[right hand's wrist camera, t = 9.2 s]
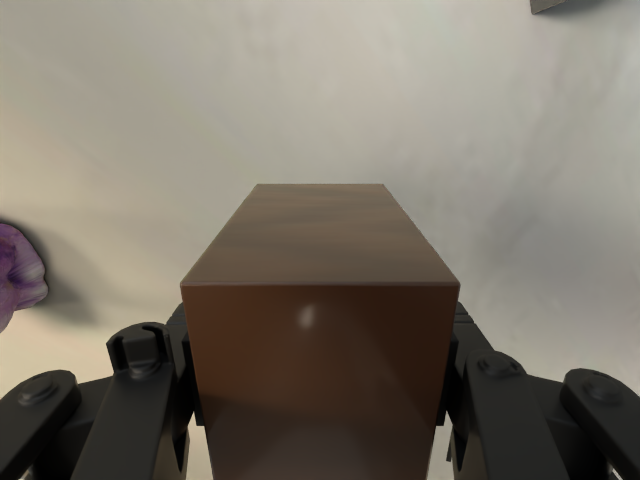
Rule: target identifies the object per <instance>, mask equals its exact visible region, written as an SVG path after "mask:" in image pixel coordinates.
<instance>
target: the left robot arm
mask: <svg viewBox="0 0 640 480" xmlns="http://www.w3.org/2000/svg"><path fill="white" fill-rule="evenodd" d="M28 473H29V472H28V470H27V471H26V472H25V473H24V475H23V476H22V477H21V478H20V480H23V479H24V478H25V477H26V475H27V474H28Z"/></svg>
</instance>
